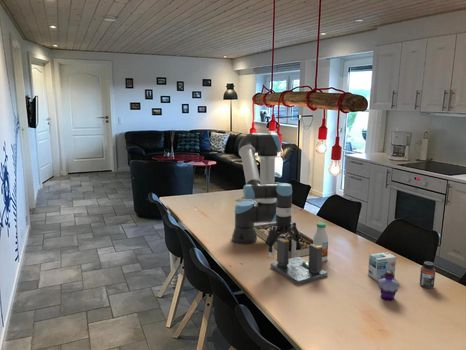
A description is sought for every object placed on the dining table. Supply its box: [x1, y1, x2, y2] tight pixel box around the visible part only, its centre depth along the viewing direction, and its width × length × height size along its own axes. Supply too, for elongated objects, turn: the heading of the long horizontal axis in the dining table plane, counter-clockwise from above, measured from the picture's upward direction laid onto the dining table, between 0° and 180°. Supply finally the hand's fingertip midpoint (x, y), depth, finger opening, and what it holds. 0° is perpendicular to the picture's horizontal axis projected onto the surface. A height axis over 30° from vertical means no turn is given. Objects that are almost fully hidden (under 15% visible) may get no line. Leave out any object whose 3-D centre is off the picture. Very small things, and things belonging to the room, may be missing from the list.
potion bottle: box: [378, 270, 400, 302], centre depth 166 cm, size 9×9×12 cm
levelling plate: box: [270, 256, 328, 286], centre depth 192 cm, size 22×18×4 cm
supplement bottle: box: [419, 260, 436, 290], centre depth 176 cm, size 6×6×11 cm
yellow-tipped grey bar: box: [276, 237, 290, 267], centre depth 194 cm, size 6×5×14 cm
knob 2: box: [308, 243, 323, 273], centre depth 187 cm, size 6×5×14 cm
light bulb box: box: [367, 251, 397, 281], centre depth 186 cm, size 11×7×11 cm, turn 105°
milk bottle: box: [312, 222, 329, 263], centre depth 205 cm, size 8×8×20 cm
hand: (282, 255), depth 195 cm, fingers open, 13 cm apart
